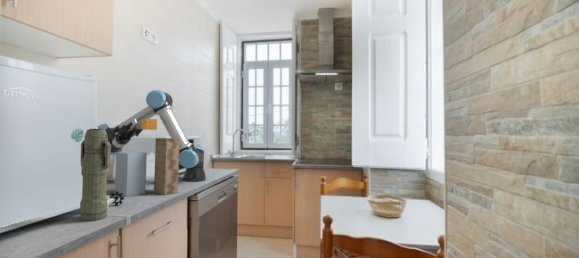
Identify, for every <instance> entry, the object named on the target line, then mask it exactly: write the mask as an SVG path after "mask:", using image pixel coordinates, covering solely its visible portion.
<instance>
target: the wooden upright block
mask: <svg viewBox="0 0 579 258" xmlns="http://www.w3.org/2000/svg"><path fill="white" fill-rule="evenodd" d="M179 142H180V139H175V138H171V137H156V138H155V146H154V147H155V148H154V151H155V153H154V179H153V182H154V183H153V184H154V185H153V193H154V194H159V195H161V196H162V195H163V196H167V195H174V194H177V193H179V173H180V172H179V168H180V164H179Z"/></svg>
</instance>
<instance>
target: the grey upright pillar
mask: <svg viewBox="0 0 579 258" xmlns="http://www.w3.org/2000/svg"><path fill="white" fill-rule="evenodd" d="M147 158H148V157H147V152H142V151H133V150H132V151H130V150H129V151H119V152H116V154H115V172H114V173H115V174H114V175H115V178H114V179H115V180H114V193H115V192H116V191H118V192H119V194H120V193H123V195H122V197H126V198H127V197H132V196H137V195H144V194H146V187H147V186H146V184H147V183H146V181H147Z"/></svg>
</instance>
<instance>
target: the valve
mask: <svg viewBox="0 0 579 258" xmlns="http://www.w3.org/2000/svg"><path fill="white" fill-rule="evenodd" d="M106 197H107V200H108V205H107V213H108V212H109V211H110V206H111V205H113V204H114V206H116V207H117V206H118V205H122V204H123V201H125V196H123V193H120V194H119V192H118V191H116V192H115V191H114V192H111V193H110V195H109V194H106ZM118 200H119V201H118Z"/></svg>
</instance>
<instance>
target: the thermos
mask: <svg viewBox="0 0 579 258" xmlns="http://www.w3.org/2000/svg"><path fill="white" fill-rule="evenodd" d="M83 137H84V138H83V141H81V143H80V167H81V168H80V169H81V176H82V192H81V200H80V202H79V214H80V219H79V220H80V221H81V222H96V221H101V220H104V219H106V218H107V214H108V212H107V205H108V200H107V197H106V195H107V186H108V185H107V183H108V182H107V181H108V180H107V179H108V178H107V177H108V174H109V167H110V166H111V156H112V155H111V144H110V142H108V136H107V133H106V130H103V129H96V128H89V129H86V131H85V135H84V136H83Z"/></svg>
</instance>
